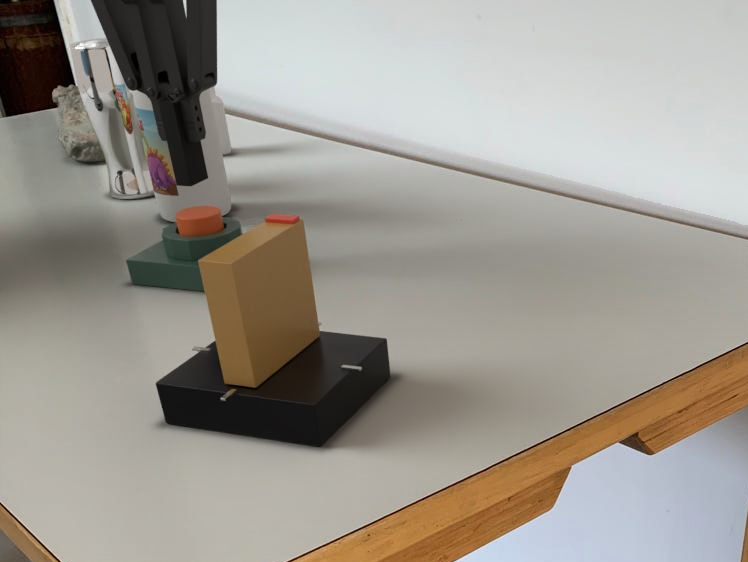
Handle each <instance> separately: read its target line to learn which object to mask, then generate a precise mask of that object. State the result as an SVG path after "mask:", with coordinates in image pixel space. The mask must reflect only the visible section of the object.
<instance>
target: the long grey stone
mask: <svg viewBox="0 0 748 562" xmlns="http://www.w3.org/2000/svg"><path fill="white" fill-rule="evenodd" d="M51 95H52V97H51V98H52V101H53V103H56V105H57V109H58V111H57V112H58V115H59V118H60V123H59V124H60V128H59V129H58V141H59V142H60V143H61V146H62V149H63V150H65V151H66V154H67V157H69V158H72V159H73V160H76V161H78V162H86V163H87V162H88V163H89V162H94V163H95V162H106V160H105V157H104V154H103V151H102V149H101V146H100V144H99V142H98V139H97V137H96V135H95V132H94V130H93V128H92V125H91V123H90V121H89V118H88V116H87V113H86V110H85V108H84V105H83V102H82V99H81V95H80V92H79V88H78V85H74V84H70V85H68V86H67V87H64V86H63V85H57V87H56V88H54V89H53V91H52V93H51Z"/></svg>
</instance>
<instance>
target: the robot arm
mask: <svg viewBox="0 0 748 562" xmlns="http://www.w3.org/2000/svg"><path fill="white" fill-rule="evenodd" d="M90 2H91V4H92V7H93V10H94V12H95V14H96V17H97V19H98V22H99V24H100V26H101V29H102V31H103V33H104V36H105V38H107V41H108V43H109V46H110V48H111V50H112V53H113V55H114V58H115V60H116V62H117V65H118V67H119V70H120V72H121V74H122V77H123V79H124V82H125V84H126V86H127V88H128V89H129V90H131V91H135V90H137V91H139V92H142V93H144V94H145V95H147V97H148V98H149V99H150V101H151V103H152V107H153V112H154V116H155V121H156V125H157V129H158V134H159V136H160V138H161V140H162V141H167V144H168V149H169V153H170V158H171V162H172V167H173V171H174V175H175V180H176V184H177V186H193V185H195V184H197V183H199V182H201V181H204V180H206V179H208V174H207V169H206V164H205V159H204V155H203V150H202V145H201V140H203V139H205V135H206V130H205V125H204V120H203V115H202V110H201V105H200V99H199V98H200V94H201V93H202V92H203V91H205V90H207V89H209V88H211V87H214V88H215V87H216V85H217V84H218V0H185V4H184V0H90Z"/></svg>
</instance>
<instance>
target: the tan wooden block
mask: <svg viewBox="0 0 748 562" xmlns="http://www.w3.org/2000/svg"><path fill="white" fill-rule="evenodd" d="M309 256H310V255H309V250H308V242H307V235H306V229H305V223H304V219H303V218H302V219H301V217H300V215H291V214H290V215H289V214H288V215H287V214H278V213H277V214H273V213H271V214H269V215H268V216H266V217H265V218H264V221H262V222H261V223H259V224H258V225H256V226H254V227H253V228H251V229H249V230H248V231H245V232H244V233H242V235H241V236H239V237H237V238H236V239H234V240H232V241H230V242H229V243H227V244H225V245H224V246H222V247H220V248H218V249H217V250H215V251H213V252H212V253H210V254H208V255H206V256H205V257H203V258H201V259H200V260H198V263H199V267H200V272H201V277H202V281H203V286H204V290H205V291H204V295H205V300H206V303H207V309H208V313H209V317H210V321H211V322H210V323H211V326H212V332H213V336H214V341H216V346H217V350H218V355H219V359H220V364H221V369H222V373H223V378H224V382H225V384H231V385H238V386H246V387H253V388H256V387H258V386H259V385H260V384H261V383H263V382H264V381H265V380H266V379H267V378H269V377H270V376H271V375H272V374H274V373H275V372H276V371H277V370H279V369H280V368H281V367H282V366H283V365H285V364H286V363H287V362H288V361H290V360H291V359H292V358H293V357H295V356H296V355H297V354H298V353H299V352H301V351H302V350H303V349H304V348H306V347H307V346H308V345H309V344H310V343H312V342H313V341H314V340H315V339H317V338H318V337H319V336H320V331H321V330H320V326H319V324H318V322H319V318H318V317H319V316H318V311H317V305H316V303H317V302H316V296H315V290H314V284H313V283H314V282H313V278H312V277H313V276H312V270H311V263H310V257H309Z"/></svg>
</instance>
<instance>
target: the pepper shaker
mask: <svg viewBox="0 0 748 562" xmlns="http://www.w3.org/2000/svg"><path fill="white" fill-rule="evenodd" d="M209 93H210V97H211V101H212V106H213V110H214V115H215V120H216V125H217V130H218V135H219V140H220V145H221V151H222V156H225V155H228V154H231V153H232V144H231V139H230V132H229V127H228V122H227V117H226V111H225V106H224V102H223V100H222V99H221V97H219V96H217V94H216V89H215V86H214V87H211V88H209Z"/></svg>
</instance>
